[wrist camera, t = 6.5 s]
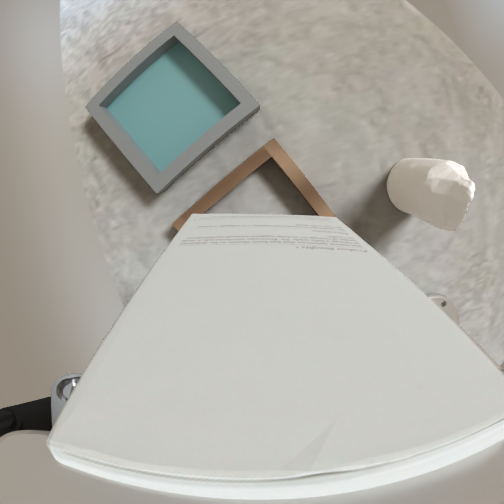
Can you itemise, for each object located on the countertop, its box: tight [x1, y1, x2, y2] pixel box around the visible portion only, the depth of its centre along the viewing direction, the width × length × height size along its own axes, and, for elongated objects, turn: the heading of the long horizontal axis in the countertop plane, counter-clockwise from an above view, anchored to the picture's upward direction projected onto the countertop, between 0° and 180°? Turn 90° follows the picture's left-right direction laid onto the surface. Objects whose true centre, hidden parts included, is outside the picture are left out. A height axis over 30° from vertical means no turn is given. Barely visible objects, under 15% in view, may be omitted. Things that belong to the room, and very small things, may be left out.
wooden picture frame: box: [172, 138, 335, 231], centre depth 29 cm, size 12×12×2 cm
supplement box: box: [46, 214, 504, 500], centre depth 9 cm, size 7×7×13 cm
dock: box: [85, 21, 260, 194], centre depth 25 cm, size 12×12×2 cm
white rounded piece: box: [387, 158, 475, 231], centre depth 23 cm, size 6×12×6 cm
